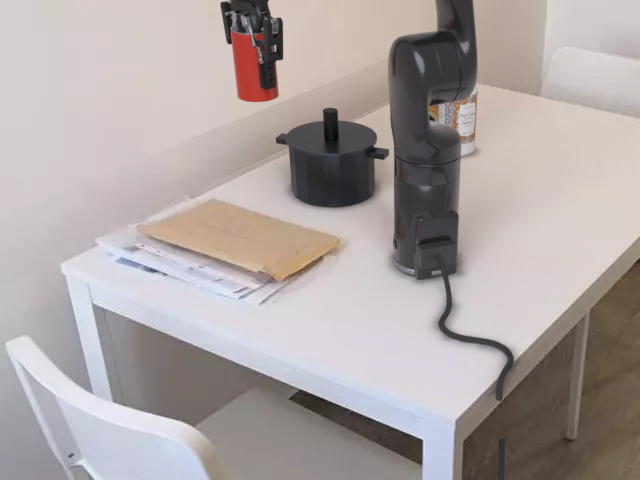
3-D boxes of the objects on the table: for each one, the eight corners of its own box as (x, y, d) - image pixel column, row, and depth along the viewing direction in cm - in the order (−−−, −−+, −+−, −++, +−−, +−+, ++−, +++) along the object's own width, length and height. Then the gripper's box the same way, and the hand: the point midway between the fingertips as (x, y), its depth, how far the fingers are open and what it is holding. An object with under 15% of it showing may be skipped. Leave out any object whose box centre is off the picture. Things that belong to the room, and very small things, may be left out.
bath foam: (451, 160, 163) (454, 51, 152) (430, 147, 167) (433, 40, 156) (481, 152, 166) (487, 45, 155) (461, 140, 171) (465, 35, 160)
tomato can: (283, 99, 129) (277, 31, 124) (243, 104, 127) (235, 35, 122) (272, 87, 134) (267, 21, 129) (233, 92, 132) (226, 24, 127)
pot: (371, 215, 143) (370, 163, 138) (263, 197, 147) (258, 146, 142) (401, 182, 154) (401, 133, 149) (299, 166, 158) (296, 117, 153)
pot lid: (356, 166, 138) (355, 132, 135) (270, 152, 142) (267, 119, 138) (390, 133, 150) (389, 101, 147) (309, 121, 154) (307, 90, 150)
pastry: (438, 113, 183) (439, 95, 181) (466, 120, 180) (467, 102, 178) (412, 125, 177) (413, 107, 174) (440, 133, 174) (441, 115, 171)
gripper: (196, -45, 123) (211, 74, 132) (246, -28, 114) (258, 100, 123) (244, -50, 127) (255, 66, 136) (296, -34, 118) (305, 90, 127)
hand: (257, 82), depth 130 cm, fingers closed on tomato can, 6 cm apart
